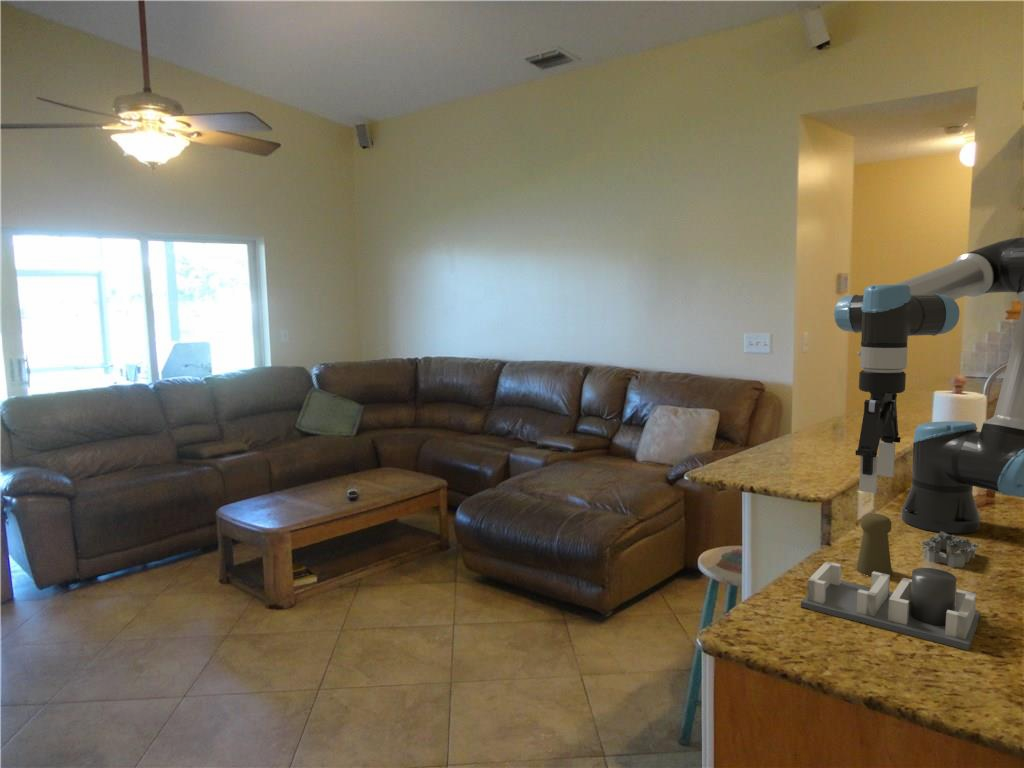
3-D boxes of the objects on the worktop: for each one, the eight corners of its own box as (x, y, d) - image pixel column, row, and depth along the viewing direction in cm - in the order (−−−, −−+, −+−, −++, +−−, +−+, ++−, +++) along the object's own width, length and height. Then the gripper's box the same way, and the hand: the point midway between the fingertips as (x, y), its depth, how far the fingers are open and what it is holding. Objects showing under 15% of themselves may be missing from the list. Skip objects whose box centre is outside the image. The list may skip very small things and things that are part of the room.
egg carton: (959, 571, 132) (961, 550, 132) (917, 560, 138) (918, 540, 137) (981, 557, 138) (982, 537, 138) (940, 546, 144) (941, 527, 144)
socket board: (823, 581, 128) (825, 539, 127) (980, 618, 113) (983, 570, 112) (800, 607, 118) (802, 561, 117) (968, 650, 103) (971, 598, 102)
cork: (894, 579, 129) (897, 521, 127) (858, 575, 131) (860, 518, 129) (889, 567, 134) (891, 511, 133) (854, 563, 136) (856, 509, 135)
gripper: (876, 363, 139) (871, 467, 142) (841, 375, 120) (836, 495, 123) (919, 365, 135) (913, 472, 137) (889, 378, 116) (883, 502, 118)
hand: (876, 483), depth 130 cm, fingers open, 13 cm apart
